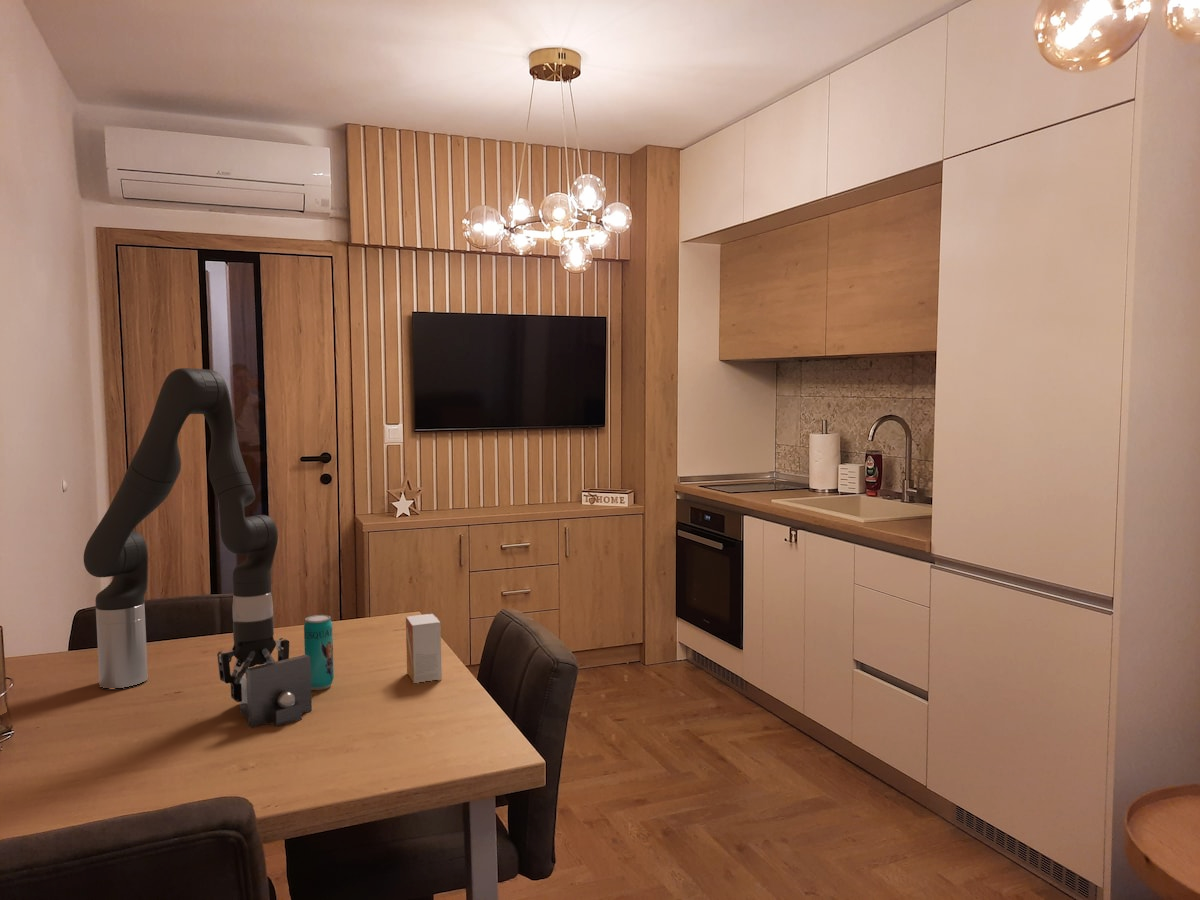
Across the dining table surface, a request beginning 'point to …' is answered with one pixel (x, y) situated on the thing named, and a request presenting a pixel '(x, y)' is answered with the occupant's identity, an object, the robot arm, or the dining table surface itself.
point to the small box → (423, 648)
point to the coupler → (278, 692)
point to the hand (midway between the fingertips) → (255, 696)
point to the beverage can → (319, 650)
